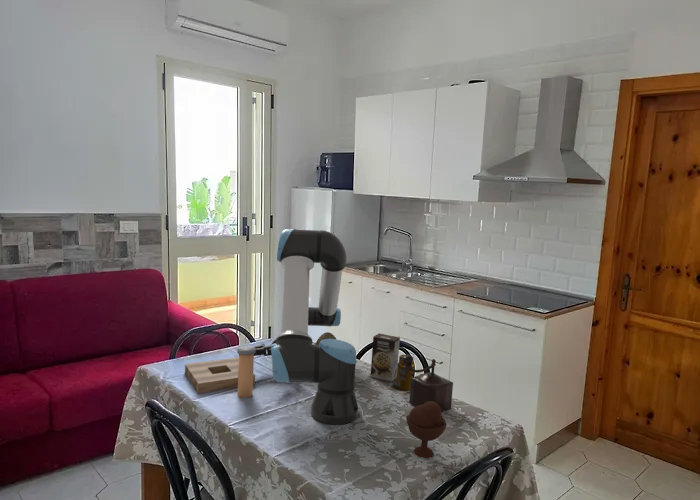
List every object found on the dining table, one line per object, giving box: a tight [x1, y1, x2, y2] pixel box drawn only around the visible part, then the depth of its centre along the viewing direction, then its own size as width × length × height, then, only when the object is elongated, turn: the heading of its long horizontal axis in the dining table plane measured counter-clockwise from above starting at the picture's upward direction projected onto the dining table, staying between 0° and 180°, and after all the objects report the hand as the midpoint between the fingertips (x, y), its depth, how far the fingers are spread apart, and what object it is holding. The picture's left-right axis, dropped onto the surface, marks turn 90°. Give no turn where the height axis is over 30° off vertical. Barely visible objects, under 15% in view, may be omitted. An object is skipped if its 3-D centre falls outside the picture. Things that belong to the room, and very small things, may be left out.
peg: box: [236, 345, 256, 399], centre depth 164 cm, size 6×6×16 cm
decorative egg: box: [314, 331, 337, 345], centre depth 193 cm, size 11×11×15 cm
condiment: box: [387, 354, 415, 395], centre depth 178 cm, size 7×8×12 cm
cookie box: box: [370, 333, 401, 382], centre depth 188 cm, size 9×6×16 cm
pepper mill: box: [402, 354, 454, 413], centre depth 162 cm, size 16×11×18 cm
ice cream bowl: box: [405, 401, 448, 459], centre depth 133 cm, size 11×11×15 cm
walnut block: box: [184, 356, 256, 394], centre depth 177 cm, size 20×20×4 cm
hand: (256, 362), depth 171 cm, fingers open, 13 cm apart
